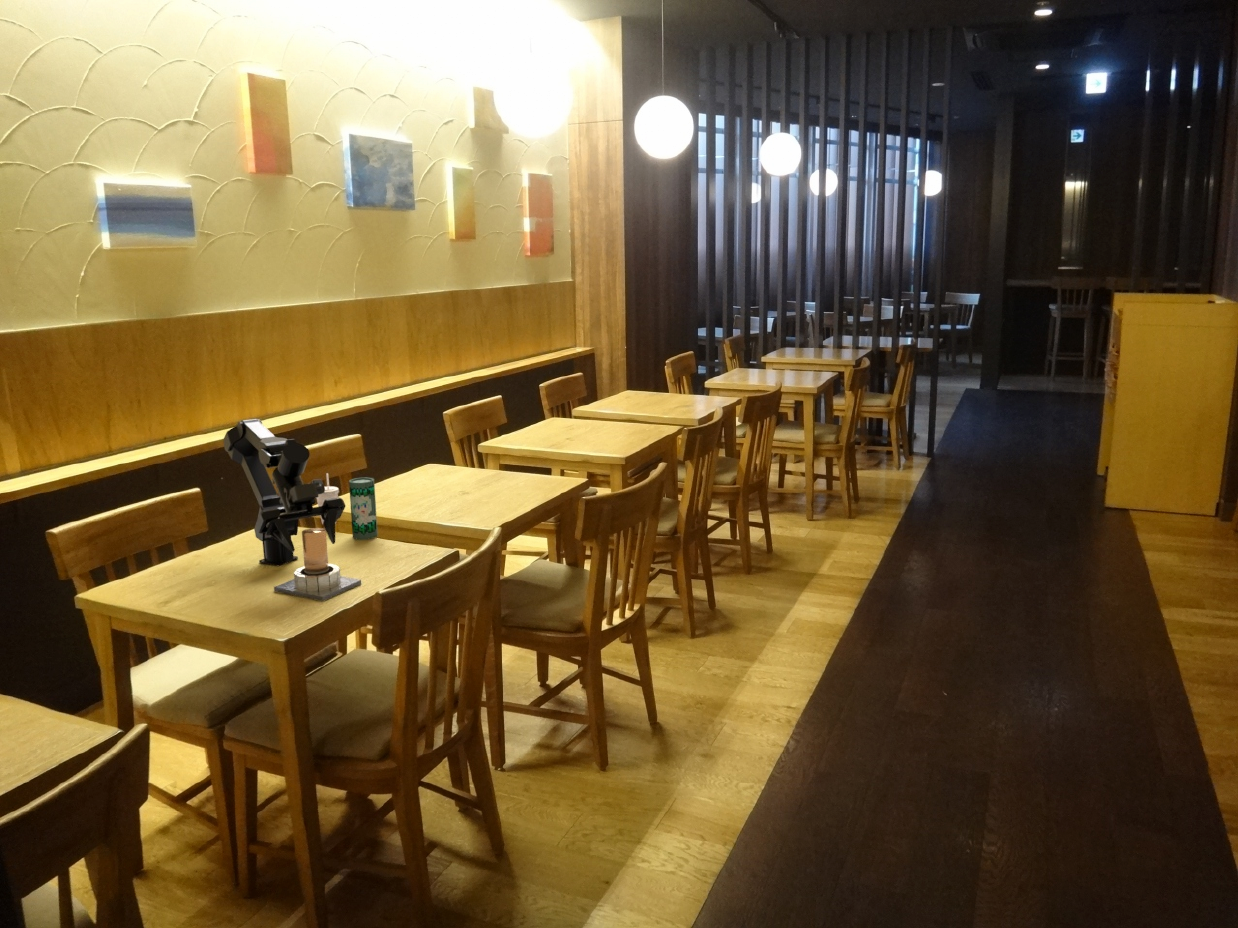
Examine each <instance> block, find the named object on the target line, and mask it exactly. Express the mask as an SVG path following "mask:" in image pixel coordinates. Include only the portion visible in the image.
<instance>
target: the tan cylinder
mask: <svg viewBox="0 0 1238 928" xmlns="http://www.w3.org/2000/svg"><path fill="white" fill-rule="evenodd" d="M301 537H302V539H301V540H302V553H303V561H304V562H303V563H304V566H305V569H304V572H305V575H307V576H318V575H324V574H327V573H329V567H328V564H329V557H328V556H329V555H328V543H327V532H326V530H325V528H322V527H313V528H312V527H311V528H306V529H304V530H302V531H301Z"/></svg>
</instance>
